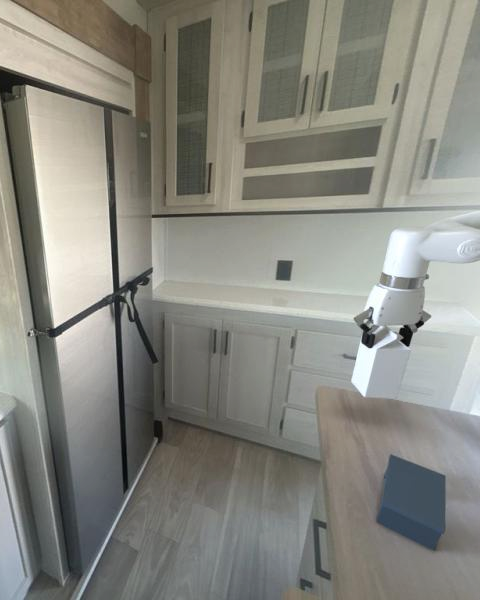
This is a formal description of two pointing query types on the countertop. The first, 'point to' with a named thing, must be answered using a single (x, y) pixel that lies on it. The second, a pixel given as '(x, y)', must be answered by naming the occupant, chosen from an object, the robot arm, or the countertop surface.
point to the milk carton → (381, 365)
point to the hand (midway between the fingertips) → (384, 344)
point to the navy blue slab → (413, 501)
